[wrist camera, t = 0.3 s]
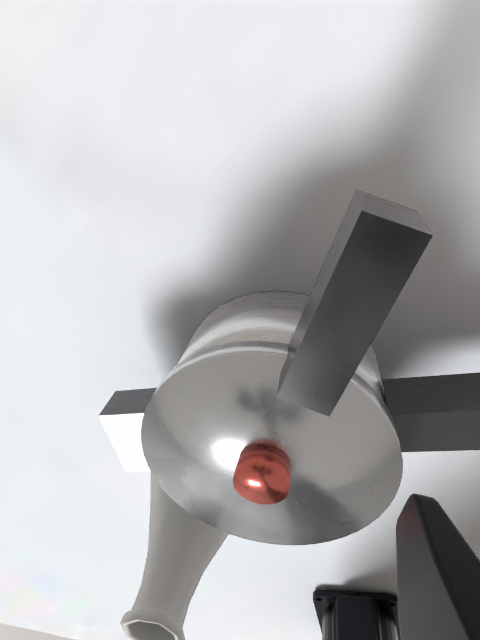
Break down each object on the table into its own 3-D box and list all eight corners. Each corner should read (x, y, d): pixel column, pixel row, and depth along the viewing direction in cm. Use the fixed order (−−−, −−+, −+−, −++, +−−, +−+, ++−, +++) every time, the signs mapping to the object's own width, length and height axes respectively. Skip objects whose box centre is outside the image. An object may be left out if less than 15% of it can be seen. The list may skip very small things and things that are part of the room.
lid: (335, 553, 22) (336, 603, 20) (132, 480, 23) (111, 521, 20) (560, 261, 13) (604, 295, 11) (213, 140, 13) (191, 150, 11)
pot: (172, 451, 29) (145, 516, 24) (115, 311, 24) (68, 361, 20) (509, 441, 23) (550, 522, 19) (524, 255, 18) (583, 308, 14)
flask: (227, 429, 27) (179, 591, 18) (269, 503, 30) (245, 674, 21) (136, 448, 29) (56, 598, 21) (182, 515, 32) (129, 671, 24)
